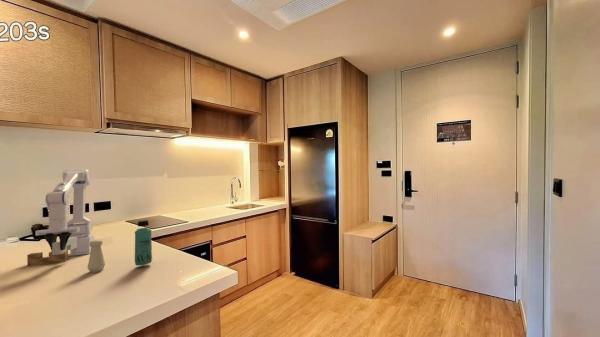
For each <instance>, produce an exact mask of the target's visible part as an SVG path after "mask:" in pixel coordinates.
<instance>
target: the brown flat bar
mask: <svg viewBox="0 0 600 337" xmlns="http://www.w3.org/2000/svg"><path fill="white" fill-rule="evenodd" d="M43 253H44V252H43V251H42V252H31V253H28V254H27V258H26V260H27V261H26V262H27V265H26V266H28V267H29V266H37V264H40V265H47V264H46V263H49V264H56V263H57V262H58V263H65V262H68V261H69V256H68V254H69V250H67V252H64V253H62V254H58V255H52V251H50V252H48V256H43V255H44V254H43Z"/></svg>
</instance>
